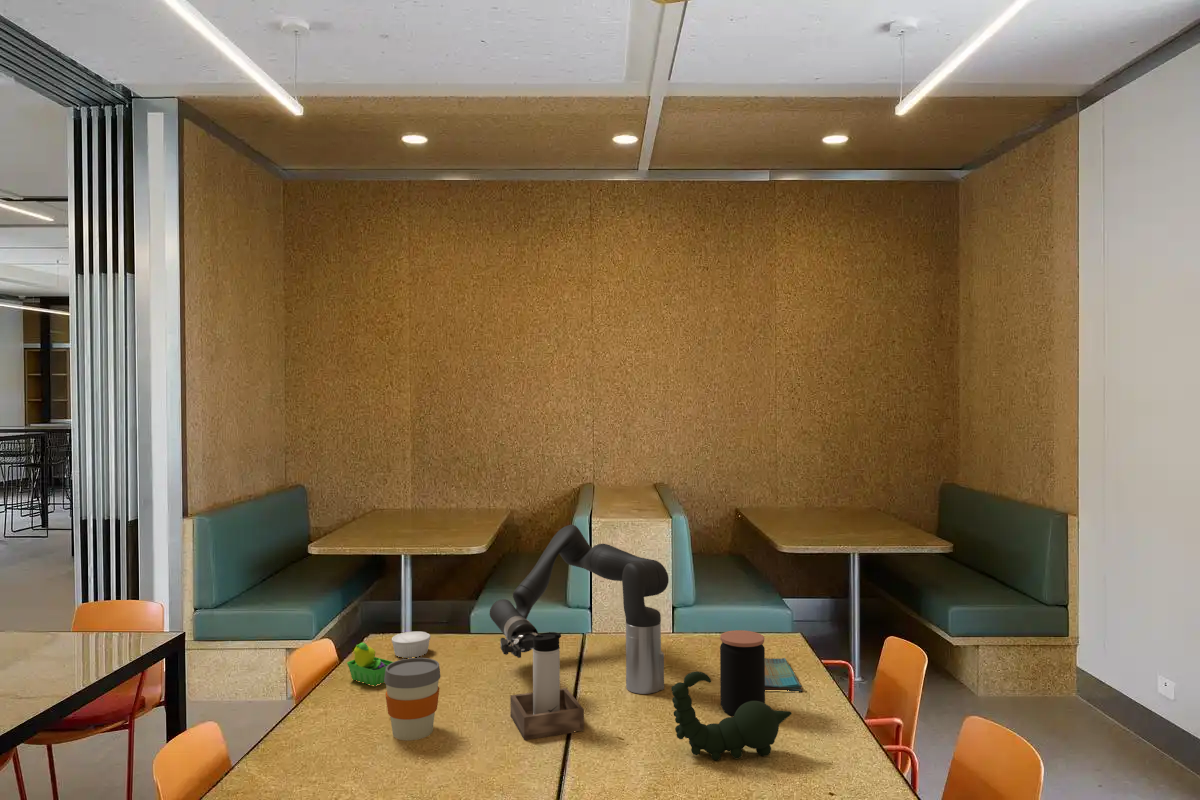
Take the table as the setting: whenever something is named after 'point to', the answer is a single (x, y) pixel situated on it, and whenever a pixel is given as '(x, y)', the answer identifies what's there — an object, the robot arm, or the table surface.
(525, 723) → the walnut crate
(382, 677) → the fruit basket
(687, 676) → the toy figurine
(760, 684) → the coffee jar
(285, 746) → the table surface
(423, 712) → the reusable coffee cup
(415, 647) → the ramekin
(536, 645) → the travel mug
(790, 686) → the dish towel
